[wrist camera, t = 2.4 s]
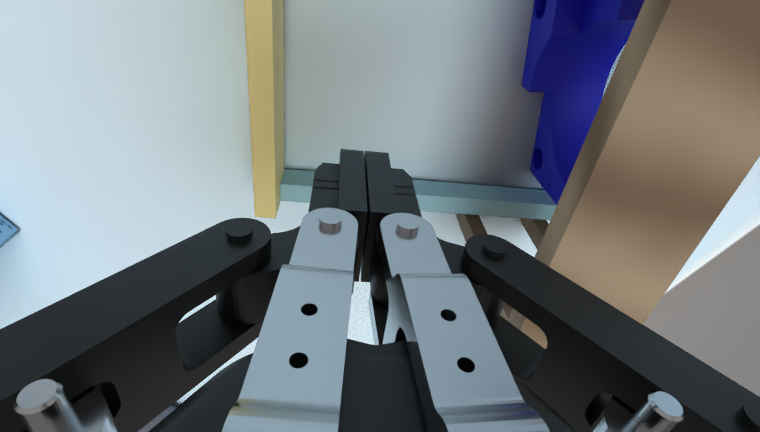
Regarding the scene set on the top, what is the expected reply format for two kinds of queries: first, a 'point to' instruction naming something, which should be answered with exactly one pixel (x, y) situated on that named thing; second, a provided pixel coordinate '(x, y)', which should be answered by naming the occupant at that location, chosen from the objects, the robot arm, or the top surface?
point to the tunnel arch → (655, 156)
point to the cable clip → (571, 76)
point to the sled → (297, 185)
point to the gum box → (6, 231)
